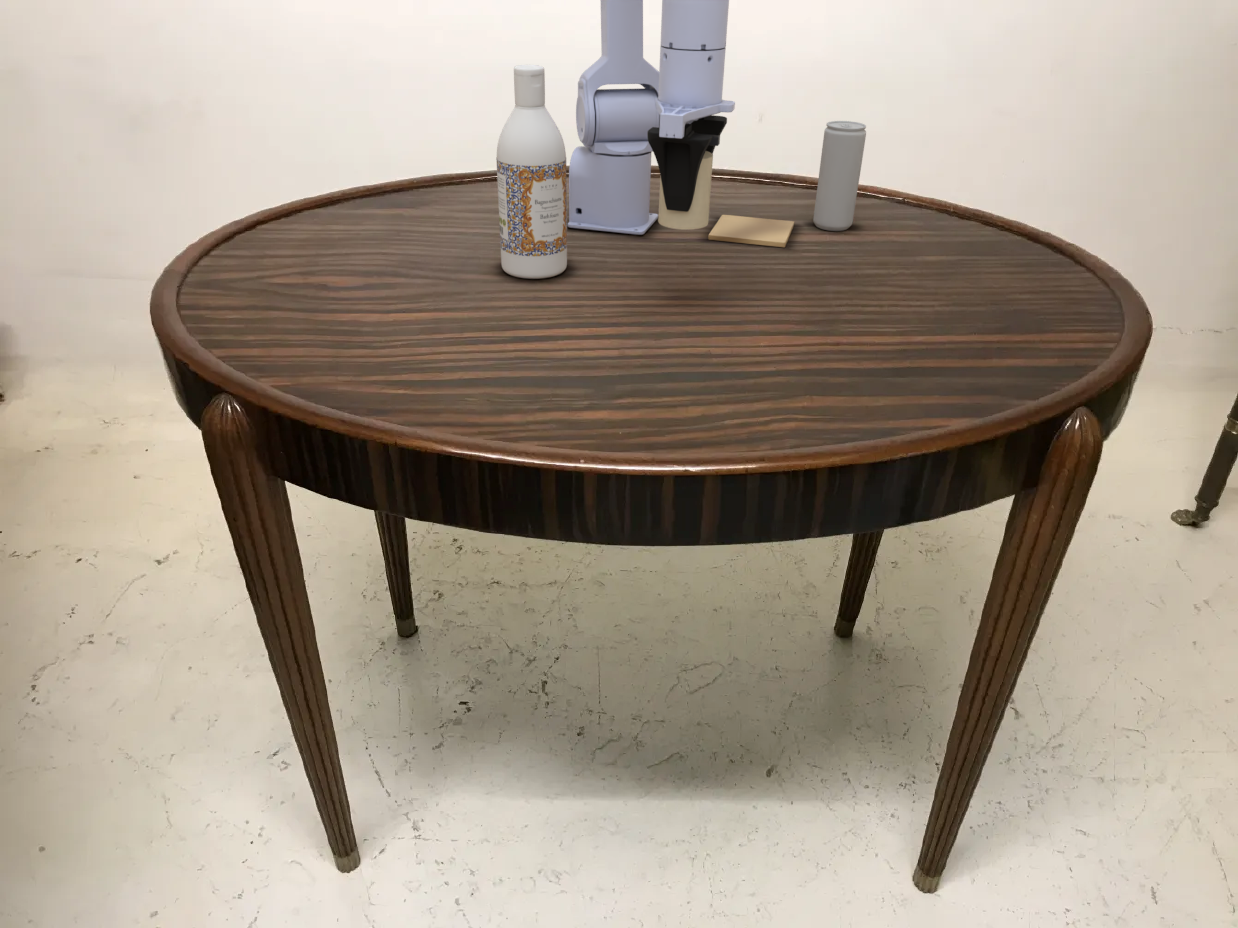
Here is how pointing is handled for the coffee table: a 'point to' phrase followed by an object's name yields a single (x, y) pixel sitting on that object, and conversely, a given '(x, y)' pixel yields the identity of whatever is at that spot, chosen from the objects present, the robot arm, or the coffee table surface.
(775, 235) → the coaster
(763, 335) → the coffee table surface
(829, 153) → the beverage can
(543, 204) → the bath foam
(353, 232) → the coffee table surface
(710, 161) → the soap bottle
